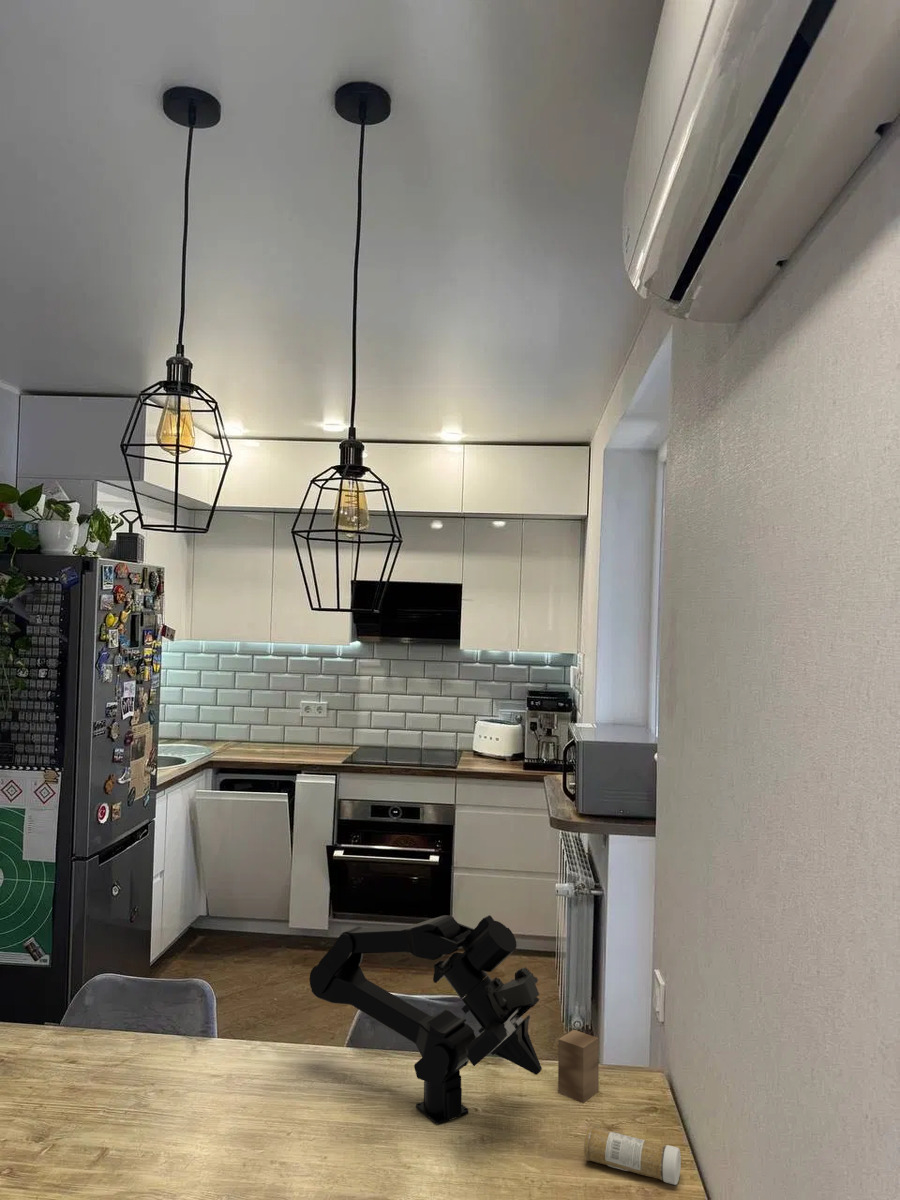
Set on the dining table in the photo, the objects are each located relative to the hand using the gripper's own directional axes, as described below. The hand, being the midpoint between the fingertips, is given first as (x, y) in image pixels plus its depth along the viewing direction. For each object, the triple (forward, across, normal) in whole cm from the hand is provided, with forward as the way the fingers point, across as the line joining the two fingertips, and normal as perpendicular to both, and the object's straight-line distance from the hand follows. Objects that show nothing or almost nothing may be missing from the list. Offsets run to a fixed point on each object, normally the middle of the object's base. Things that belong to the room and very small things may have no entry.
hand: (539, 1072), depth 132 cm
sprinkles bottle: (+11, -2, 0) cm, 11 cm away
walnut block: (+8, +16, +6) cm, 19 cm away
